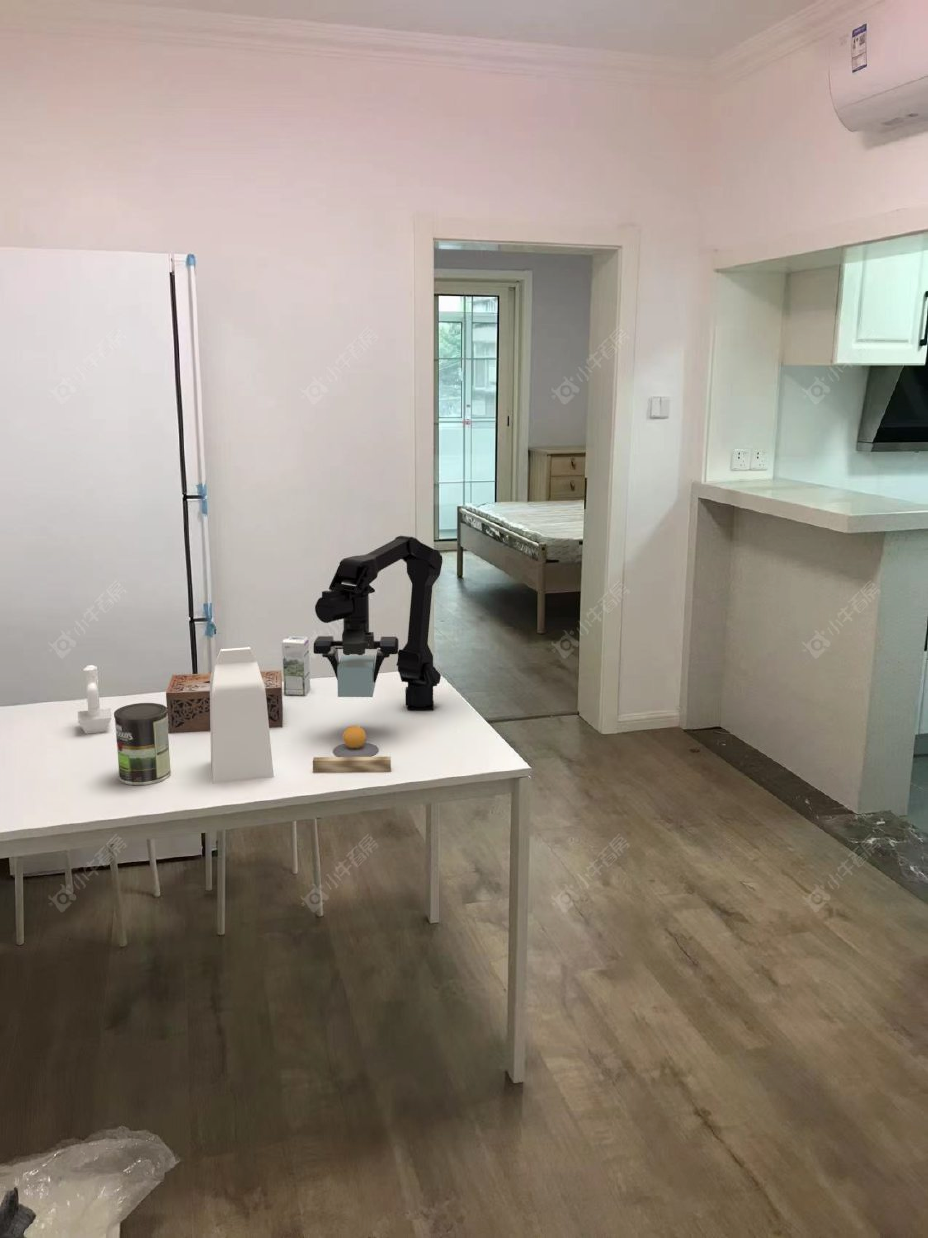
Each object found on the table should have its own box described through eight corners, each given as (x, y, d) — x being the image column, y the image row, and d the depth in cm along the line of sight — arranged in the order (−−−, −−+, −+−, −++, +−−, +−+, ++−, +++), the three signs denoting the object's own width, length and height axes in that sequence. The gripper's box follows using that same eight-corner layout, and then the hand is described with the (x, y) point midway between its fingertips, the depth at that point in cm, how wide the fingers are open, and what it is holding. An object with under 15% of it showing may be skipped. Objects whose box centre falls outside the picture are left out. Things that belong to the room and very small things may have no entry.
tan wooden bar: (390, 767, 209) (390, 756, 208) (390, 771, 207) (390, 760, 206) (314, 768, 208) (313, 757, 208) (313, 772, 206) (312, 760, 206)
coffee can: (133, 790, 197) (128, 722, 194) (110, 775, 204) (104, 710, 201) (181, 776, 204) (176, 710, 201) (156, 762, 211) (152, 699, 208)
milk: (213, 783, 201) (206, 658, 195) (210, 762, 212) (203, 644, 206) (273, 776, 204) (268, 654, 198) (268, 756, 215) (263, 640, 209)
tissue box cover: (168, 734, 229) (165, 693, 226) (175, 714, 243) (172, 675, 240) (282, 728, 233) (281, 687, 231) (282, 708, 247) (281, 670, 245)
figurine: (79, 738, 225) (73, 674, 222) (79, 725, 234) (73, 663, 230) (112, 734, 228) (107, 671, 224) (111, 721, 236) (106, 660, 233)
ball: (363, 744, 216) (366, 751, 221) (365, 722, 218) (367, 730, 223) (340, 743, 216) (343, 751, 221) (342, 722, 218) (345, 729, 223)
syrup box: (311, 689, 261) (309, 636, 258) (305, 696, 255) (303, 641, 252) (289, 688, 262) (287, 635, 258) (283, 695, 256) (281, 641, 253)
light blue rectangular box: (375, 683, 232) (375, 655, 231) (372, 697, 222) (372, 667, 220) (342, 683, 232) (342, 655, 231) (337, 696, 221) (337, 667, 220)
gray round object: (379, 742, 223) (379, 741, 223) (377, 759, 214) (377, 758, 214) (334, 742, 223) (334, 742, 223) (330, 759, 213) (330, 758, 213)
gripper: (309, 622, 215) (311, 692, 218) (396, 623, 215) (396, 692, 219) (315, 611, 226) (317, 677, 229) (398, 612, 226) (398, 678, 230)
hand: (356, 681), depth 226 cm, fingers closed on light blue rectangular box, 8 cm apart
